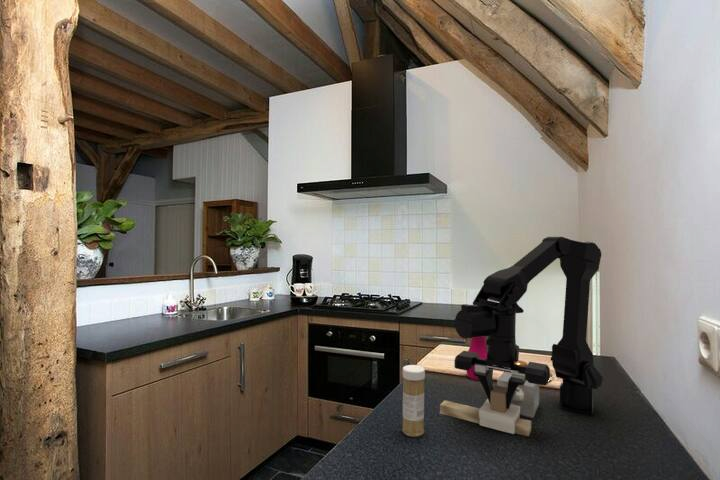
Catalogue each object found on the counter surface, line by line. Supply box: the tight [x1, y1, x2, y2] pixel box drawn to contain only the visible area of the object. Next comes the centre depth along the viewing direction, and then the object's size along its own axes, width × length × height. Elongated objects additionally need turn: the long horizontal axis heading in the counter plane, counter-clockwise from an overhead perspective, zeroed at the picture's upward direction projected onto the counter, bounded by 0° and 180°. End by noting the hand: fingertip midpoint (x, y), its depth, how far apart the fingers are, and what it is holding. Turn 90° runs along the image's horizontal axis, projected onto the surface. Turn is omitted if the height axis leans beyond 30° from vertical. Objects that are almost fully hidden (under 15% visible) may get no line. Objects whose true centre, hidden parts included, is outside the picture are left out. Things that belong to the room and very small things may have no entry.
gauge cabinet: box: [496, 371, 540, 419], centre depth 94 cm, size 8×8×7 cm
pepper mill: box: [466, 336, 487, 381], centre depth 116 cm, size 7×7×20 cm
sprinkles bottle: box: [401, 364, 426, 438], centre depth 82 cm, size 5×5×14 cm
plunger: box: [515, 359, 528, 366], centre depth 95 cm, size 4×4×6 cm
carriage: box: [479, 384, 520, 435], centre depth 85 cm, size 7×7×8 cm
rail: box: [439, 399, 532, 437], centre depth 87 cm, size 19×3×2 cm, turn 58°
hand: (499, 406), depth 85 cm, fingers closed on carriage, 3 cm apart
